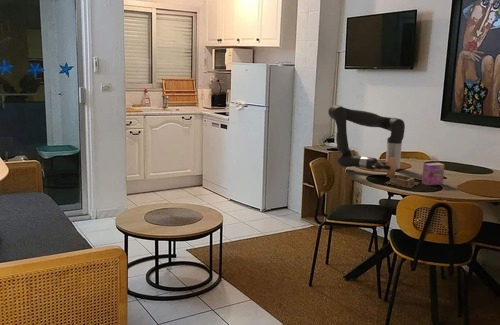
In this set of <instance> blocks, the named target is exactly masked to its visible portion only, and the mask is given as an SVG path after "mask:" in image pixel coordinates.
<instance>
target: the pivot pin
mask: <svg viewBox="0 0 500 325" xmlns="http://www.w3.org/2000/svg"><path fill="white" fill-rule="evenodd" d="M387 166H390V170H387V169H386V178H387V177H389V178H388V179H390V178H396V170H397V169H396V158H395V157H388V163H387Z"/></svg>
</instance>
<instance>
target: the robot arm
mask: <svg viewBox="0 0 500 325" xmlns="http://www.w3.org/2000/svg"><path fill="white" fill-rule="evenodd" d="M328 115H329V117H330V118H331V119H332V120H334V121H335V123H336V124H335V125H336V146H337V151H338V152H339V153H341V155H340V156H339V157H338V158H337V160H336V161H337V165H339V166H340V167H343V168H351V167H353V168H354V167H355V168H360V169H365V170H370V171H371V170H372V171H376V170H386V171H387V170H390V166H387V163H388V157H395V158H396V170H400V168H401V156H402V144H403V143H402V142H403V139H404V136H405V135H404V134H405V126H406V125H405V121H404V120H403V119H401V118H396V117H387V116H381V115H378V114H377V113H373V112H370V111H367V110H359V109H350V108H346V107H343V106H341V105H338V104H334V105H332V106H330V107H329V109H328ZM347 121H348V122H351V123H354V124H355V125H359V126H364V127H369V128H381V129H383V130H385V131H386V130H387V131H389V132H390V136H389V137H388V138H387V139H386V140H387V141H386V154H385V161H384V160H380V161H378V159H377V158H375V157H370V156H361V155H360V156H359V155H354V156H353V154H352V152H351V150H350V147H349V141H348V133H347V130H348V129H347Z"/></svg>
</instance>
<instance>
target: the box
mask: <svg viewBox="0 0 500 325" xmlns="http://www.w3.org/2000/svg"><path fill="white" fill-rule="evenodd" d="M445 165H446V164H444V163H440V162H431V163H430V162H429V163H428V162H427V163H423V165H422V166H423V168H422V175H421V176H422V178H421V183H422V184H424V185H427V186H432V185H433V186H435V185H443V184H444V174H445Z"/></svg>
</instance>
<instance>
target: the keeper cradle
mask: <svg viewBox="0 0 500 325" xmlns="http://www.w3.org/2000/svg"><path fill="white" fill-rule="evenodd" d="M385 183H386V184H385V185H388V184H391V185H390V186H394V185H396V186H395V187H400V186H401V188H405V187H406V189H412V188H413V187H414V188H415V187H416V186H418V185H420V182H416V181H415V177H412V176H406V175H399V174H397V175H396V176H395V178H389V180H388V181H385ZM415 185H416V186H415Z"/></svg>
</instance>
